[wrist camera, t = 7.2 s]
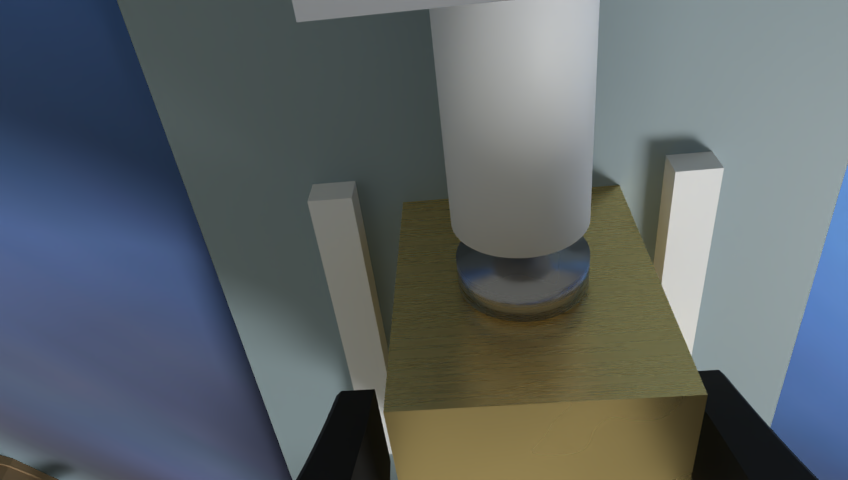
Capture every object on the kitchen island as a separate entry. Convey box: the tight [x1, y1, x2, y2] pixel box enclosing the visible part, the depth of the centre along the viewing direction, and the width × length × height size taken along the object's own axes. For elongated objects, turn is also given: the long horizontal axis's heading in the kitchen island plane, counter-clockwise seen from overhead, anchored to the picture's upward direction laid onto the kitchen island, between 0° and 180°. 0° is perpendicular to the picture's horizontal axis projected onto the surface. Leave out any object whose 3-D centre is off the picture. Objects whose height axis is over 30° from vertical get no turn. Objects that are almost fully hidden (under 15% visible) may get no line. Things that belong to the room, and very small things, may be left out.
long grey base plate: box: [117, 0, 848, 480], centre depth 13 cm, size 12×24×6 cm, turn 6°
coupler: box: [383, 185, 708, 480], centre depth 12 cm, size 4×7×5 cm, turn 6°
